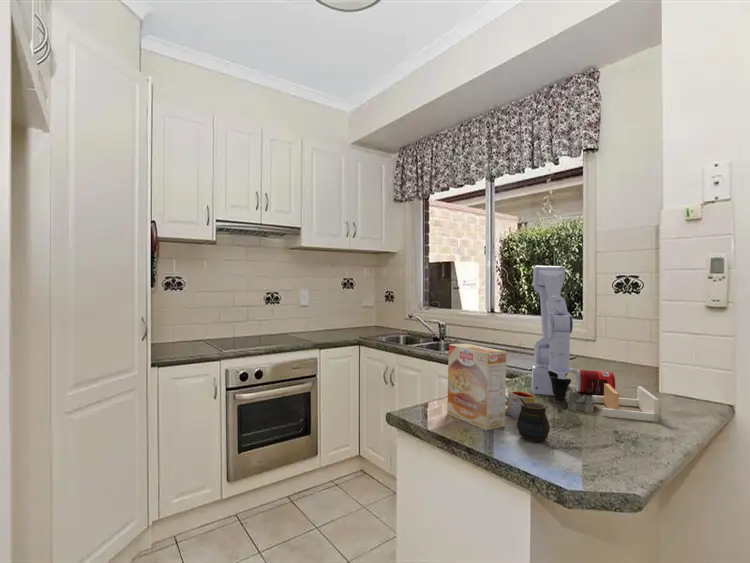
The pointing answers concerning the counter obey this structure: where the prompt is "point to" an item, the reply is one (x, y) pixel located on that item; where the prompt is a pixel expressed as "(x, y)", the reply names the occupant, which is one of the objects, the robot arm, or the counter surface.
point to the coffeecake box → (477, 385)
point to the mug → (516, 403)
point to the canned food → (593, 381)
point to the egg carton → (580, 402)
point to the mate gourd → (533, 422)
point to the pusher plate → (611, 397)
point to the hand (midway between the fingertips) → (558, 397)
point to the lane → (643, 401)
